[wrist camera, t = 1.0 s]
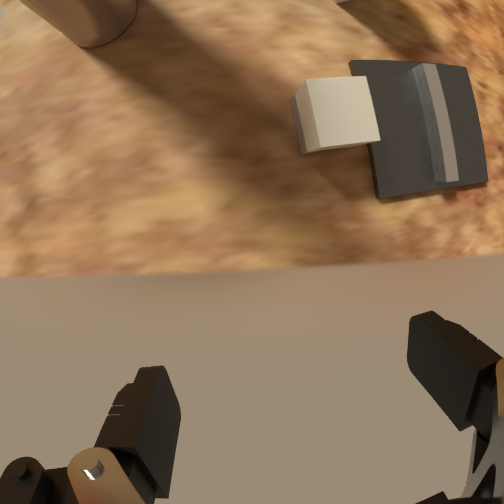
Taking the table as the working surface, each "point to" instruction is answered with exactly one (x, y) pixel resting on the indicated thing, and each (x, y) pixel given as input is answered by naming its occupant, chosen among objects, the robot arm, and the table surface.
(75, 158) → the table surface
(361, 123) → the block
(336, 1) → the supplement box
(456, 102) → the rail board
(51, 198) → the table surface
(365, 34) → the table surface
